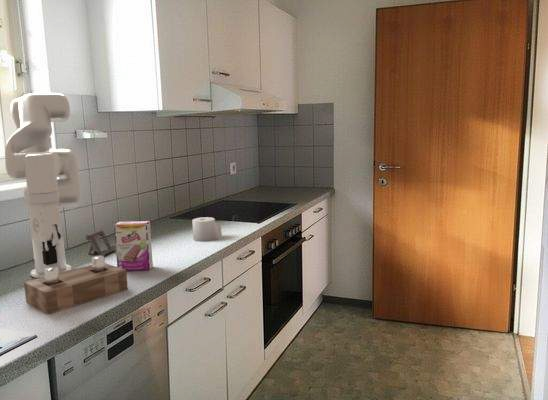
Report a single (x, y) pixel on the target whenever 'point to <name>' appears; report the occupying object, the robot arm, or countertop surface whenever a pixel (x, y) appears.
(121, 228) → the candy bar box
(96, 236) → the portable electronic device stand
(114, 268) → the walnut block
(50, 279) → the front peg
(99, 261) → the back peg
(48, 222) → the robot arm
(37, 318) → the countertop surface
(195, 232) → the toilet tissue
